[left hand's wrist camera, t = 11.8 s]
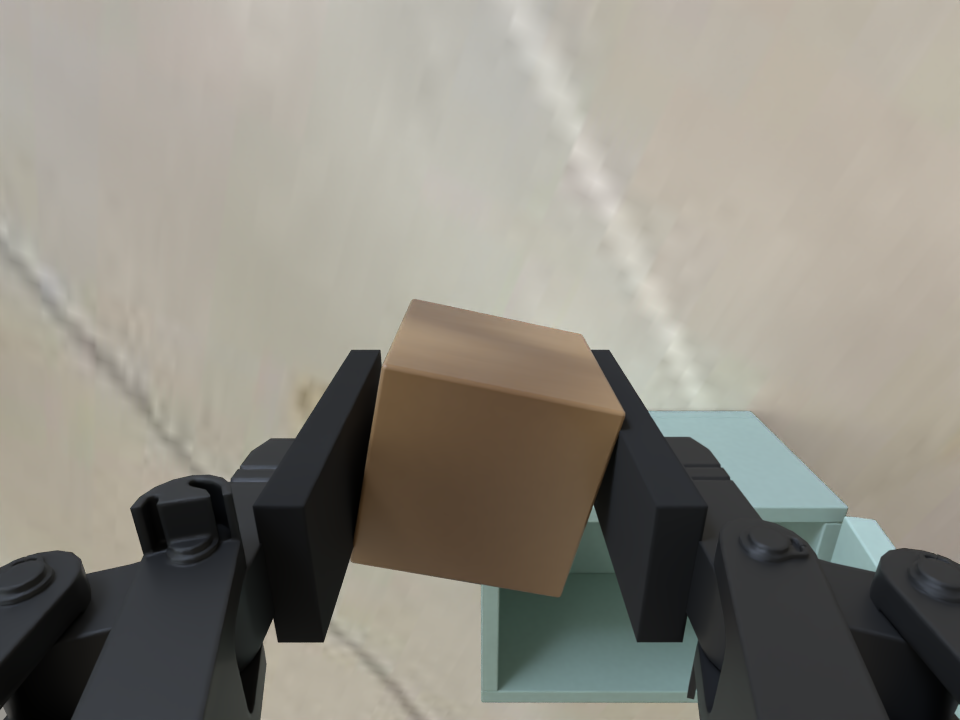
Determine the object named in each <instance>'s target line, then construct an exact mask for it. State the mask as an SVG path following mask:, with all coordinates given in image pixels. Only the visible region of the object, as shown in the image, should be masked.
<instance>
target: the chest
mask: <svg viewBox="0 0 960 720" xmlns="http://www.w3.org/2000/svg"><path fill="white" fill-rule="evenodd" d="M648 412H649V414H650V415H651V417H652V418H653V420H654V421H655V423H656V425H657V426H658V428H659V429H660V431H661V433H662V434H663V436H664V437H691V438H693V439H694V440H696V441H697V442H699V443H700V444H702V445H703V446H705V447H706V448H708V449H709V450H710V451H711V452H712V454H713V455H714V456H715V458H716V459H717V460H718V462H719V463H720V464H721V468H724V469H725V471H726V472H727V473H728V475H729V476H730V480H733V481H734V483H735V484H736V485H737V487H738V488H739V489H740V491H741V492H742V493H743V495H744V496H745V497H746V499H747V500H748V501H749V502H750V504H751V505H752V506H753V508H754V509H755V510H756V512H757V513H758V514H759V516H760V517H761V518H762V520H765V521H769V522H772V523H776V524H778V525H780V526H783V527H785V528H787V529H789V530H791V531H793V532H795V533H796V534H797V535H799V536H800V537H801V538H802V539H804V540H805V541H806V542H808V544H809V545H810V546H811V548H812V549H813V550H814V552H815V553H816V555H817V557H818V559H821V560H825V561H828V562H831V559H832V556H833V552H834V549H835V546H836V542H837V539H838V536H839V533H840V529H841V526H842V522H843V519H844V517H845V516H846V514H847V510H848V506H847V505H846V504H845V503H844V502H843V501H842V500H841V499H840V498H839V497H838V496H836V495H835V494H834V493H833V492H832V491H831V490H830V489H829V488H828V487H827V486H826V485H825V484H824V483H823V482H822V481H821V480H820V479H819V478H818V477H817V476H816V475H815V474H814V473H813V472H812V471H811V470H810V469H809V468H808V467H807V466H806V465H805V464H804V463H803V462H802V461H801V460H800V459H799V458H798V457H797V456H796V455H795V454H794V453H793V452H792V451H791V450H790V449H789V448H788V447H787V446H786V445H785V444H784V443H783V442H782V441H781V440H780V439H778V438H777V437H776V436H775V435H774V434H773V433H772V432H771V431H770V430H769V429H768V428H767V427H766V426H765V425H764V424H763V423H762V422H761V421H760V420H759V419H758V418H757V417H756V416H755V415H754V414H753V413H752V412H750V411H648ZM697 641H698V638H697V636H696V634H695V632H694V629H693V627H692V625H691V623H690V620H689V618H688V616H687V622H686V627H685V632H684V638H683V642H637V641H636V638H635V635H634V632H633V628H632V625H631V622H630V619H629V616H628V613H627V609H626V606H625V603H624V600H623V597H622V593H621V590H620V587H619V584H618V581H617V578H616V574H615V571H614V568H613V565H612V562H611V559H610V555H609V552H608V549H607V546H606V543H605V540H604V536H603V533H602V530H601V527H600V524H599V521H598V517H597V514H596V511H595V508H594V505H593V508H592V511H591V513H590V516H589V519H588V522H587V525H586V527H585V530H584V533H583V536H582V539H581V541H580V544H579V547H578V550H577V552H576V555H575V558H574V561H573V564H572V566H571V569H570V572H569V575H568V578H567V580H566V583H565V586H564V589H563V592H562V594H561V596H560V597H551V596H545V595H539V594H534V593H528V592H522V591H516V590H510V589H504V588H498V587H493V586H487V585H481V701H482V702H577V703H698V698H697V689H696V693H695V698H694V699H690V698H687V693H688V686H689V681H690V676H691V671H692V666H693V661H694V656H695V651H696V646H697Z"/></svg>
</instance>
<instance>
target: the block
mask: <svg viewBox="0 0 960 720" xmlns="http://www.w3.org/2000/svg"><path fill="white" fill-rule="evenodd" d="M624 419H625V411H624V409H623V408H622V406H621V404H620V402H619V400H618V399H617V397H616V395H615V393H614V391H613V390H612V388H611V386H610V384H609V382H608V380H607V379H606V377H605V375H604V373H603V371H602V370H601V368H600V366H599V364H598V362H597V361H596V359H595V357H594V355H593V353H592V351H591V350H590V348H589V346H588V344H587V342H586V341H585V339H584V337H583V335H581V334H577V333H573V332H568V331H563V330H559V329H554V328H549V327H544V326H540V325H535V324H530V323H525V322H521V321H516V320H511V319H507V318H502V317H497V316H492V315H488V314H483V313H478V312H474V311H469V310H464V309H459V308H455V307H450V306H445V305H441V304H436V303H431V302H426V301H422V300H417V299H413V300H412V301H411V302H410V305H409V307H408V309H407V311H406V314H405V316H404V318H403V320H402V322H401V325H400V327H399V329H398V331H397V334H396V336H395V338H394V340H393V343H392V345H391V347H390V349H389V351H388V354H387V356H386V358H385V360H384V363H383V365H382V367H381V373H380V379H379V385H378V391H377V398H376V404H375V410H374V416H373V422H372V428H371V434H370V440H369V446H368V452H367V458H366V464H365V470H364V476H363V482H362V488H361V494H360V500H359V506H358V512H357V518H356V524H355V531H354V537H353V547H354V548H353V551H352V554H351V557H350V559H351V562H353V563H358V564H364V565H369V566H375V567H381V568H387V569H393V570H399V571H405V572H410V573H416V574H422V575H428V576H434V577H440V578H446V579H452V580H457V581H463V582H469V583H475V584H481V585H487V586H493V587H498V588H504V589H510V590H516V591H522V592H528V593H534V594H539V595H545V596H551V597H560V596H561V594H562V592H563V589H564V586H565V583H566V580H567V578H568V575H569V572H570V569H571V566H572V564H573V561H574V558H575V555H576V552H577V550H578V547H579V544H580V541H581V539H582V536H583V533H584V530H585V527H586V525H587V522H588V519H589V516H590V513H591V511H592V508H593V505H594V502H595V499H596V497H597V494H598V491H599V488H600V486H601V483H602V480H603V477H604V474H605V472H606V469H607V466H608V463H609V460H610V458H611V455H612V452H613V449H614V446H615V444H616V441H617V438H618V435H619V431H620V430H621V427H622V424H623V421H624Z"/></svg>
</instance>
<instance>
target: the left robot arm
mask: <svg viewBox="0 0 960 720" xmlns="http://www.w3.org/2000/svg"><path fill="white" fill-rule="evenodd" d="M591 351H592V353H593V355H594V357H595V359H596V361H597V362H598V364H599V366H600V368H601V370H602V371H603V373H604V375H605V377H606V379H607V380H608V382H609V384H610V386H611V388H612V390H613V391H614V393H615V395H616V397H617V399H618V400H619V402H620V404H621V406H622V408H623V409H624V411H625V419H624V421H623V424H622V427H621V430H620V431H619V435H618V438H617V441H616V444H615V446H614V449H613V452H612V455H611V458H610V460H609V463H608V466H607V469H606V472H605V474H604V477H603V480H602V483H601V486H600V488H599V491H598V494H597V497H596V499H595V502H594V508H595V511H596V514H597V517H598V521H599V524H600V527H601V530H602V533H603V536H604V540H605V543H606V546H607V549H608V552H609V555H610V559H611V562H612V565H613V568H614V571H615V574H616V578H617V581H618V584H619V587H620V590H621V593H622V597H623V600H624V603H625V606H626V609H627V613H628V616H629V619H630V622H631V625H632V628H633V632H634V635H635V638H636V641H637V642H683V638H684V632H685V627H686V622H687V616H688V618H689V620H690V623H691V625H692V627H693V629H694V632H695V634H696V636H697V638H698V641H697V646H696V651H695V656H694V661H693V666H692V671H691V676H690V681H689V686H688V693H687V698H690V699H694V698H695V693H696V689H697V698H698V707H699V716H700V720H960V719H959V718H958V717H957V716H956V714H955V711H956V709H957V707H958V705H959V704H960V564H958V563H956V562H954V561H952V560H950V559H948V558H946V557H943V556H940V555H938V554H937V555H936V554H934V553H930V552H926V551H922V550H914V549H907V548H902V549H895V550H889V551H888V552H886V553H885V554H884V555H883V556H881V558H880V561H879V564H878V566H877V569H876V572H874V571H869V570H864V569H860V568H855V567H850V566H846V565H841V564H836V563H832V562H828V561H825V560H821V559H818V557H817V555H816V553H815V552H814V550H813V549H812V548H811V546H810V545H809V544H808V542H806V541H805V540H804V539H802V538H801V537H800V536H799V535H797V534H796V533H795V532H793V531H791V530H789V529H787V528H785V527H783V526H780V525H778V524H776V523H772V522H769V521H765V520H762V518H761V517H760V516H759V514H758V513H757V512H756V510H755V509H754V508H753V506H752V505H751V504H750V502H749V501H748V500H747V499H746V497H745V496H744V495H743V493H742V492H741V491H740V489H739V488H738V487H737V485H736V484H735V483H734V481H733V480H730V476H729V475H728V473H727V472H726V471H725V469H724V468H721V464H720V463H719V462H718V460H717V459H716V458H715V456H714V455H713V454H712V452H711V451H710V450H709V449H708V448H706V447H705V446H703V445H702V444H700V443H699V442H697V441H696V440H694V439H693V438H691V437H664V436H663V434H662V433H661V431H660V429H659V428H658V426H657V425H656V423H655V421H654V420H653V418H652V417H651V415H650V414H649V412H648V410H647V409H646V407H645V406H644V404H643V403H642V401H641V399H640V398H639V396H638V395H637V393H636V391H635V390H634V388H633V387H632V385H631V384H630V382H629V380H628V379H627V377H626V376H625V374H624V373H623V371H622V369H621V368H620V366H619V365H618V363H617V362H616V360H615V358H614V357H613V355H612V354H611V352H610V350H591ZM381 367H382V365H381V351H380V350H351V351H350V353H349V354H348V356H347V358H346V359H345V361H344V362H343V364H342V366H341V367H340V369H339V370H338V372H337V373H336V375H335V377H334V378H333V380H332V381H331V383H330V384H329V386H328V388H327V389H326V391H325V392H324V394H323V396H322V397H321V399H320V400H319V402H318V403H317V405H316V407H315V408H314V410H313V411H312V413H311V414H310V416H309V418H308V419H307V421H306V422H305V424H304V426H303V427H302V429H301V430H300V432H299V433H298V435H297V437H296V438H271V439H269V440H268V441H266V442H265V443H263V444H262V445H260V446H259V447H257V448H256V449H254V450H253V451H251V453H250V454H249V455H248V457H247V458H246V459H245V461H244V462H243V463H242V465H241V466H240V469H238V470H237V471H236V473H235V474H234V475H233V477H232V478H231V482H227V481H226V480H225V479H224V478H221V477H217V476H213V475H192V476H187V477H183V478H178V479H174V480H171V481H169V482H166V483H164V484H161V485H159V486H157V487H154V488H153V489H151V490H150V491H148V492H147V493H145V494H144V495H142V496H141V497H139V499H138V500H137V501H136V502H135V503H134V504H133V505H132V507H131V508H130V509H131V513H132V516H133V520H134V523H135V527H136V530H137V534H138V537H139V540H140V544H141V547H142V551H143V554H144V556H143V558H142V560H141V562H137V563H134V564H130V565H126V566H121V567H116V568H112V569H107V570H102V571H98V572H93V573H89V574H86V573H85V570H84V567H83V564H82V561H81V559H80V558H79V557H77V556H76V555H75V554H74V553H72V552H65V551H58V550H57V551H50V552H42V553H36V554H33V555H29V556H27V557H22V558H20V559H17V560H14V561H12V562H11V563H9V564H7V565H5V566H3V567H1V568H0V709H1V708H2V707H4V709H5V712H6V714H7V716H6V717H5V718H4V720H260V718H261V709H262V700H263V691H264V682H265V673H266V658H265V651H264V646H263V640H264V638H265V636H266V633H267V631H268V629H269V627H270V624H271V622H272V620H273V619H274V624H275V629H276V635H277V640H278V642H324V640H325V636H326V633H327V630H328V627H329V624H330V621H331V617H332V614H333V611H334V608H335V605H336V602H337V598H338V595H339V592H340V589H341V586H342V583H343V579H344V576H345V573H346V570H347V567H348V563H349V560H350V557H351V554H352V551H353V548H354V547H353V537H354V531H355V524H356V518H357V512H358V506H359V500H360V494H361V488H362V482H363V476H364V470H365V464H366V458H367V452H368V446H369V440H370V434H371V428H372V422H373V416H374V410H375V404H376V398H377V391H378V385H379V379H380V373H381Z"/></svg>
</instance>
